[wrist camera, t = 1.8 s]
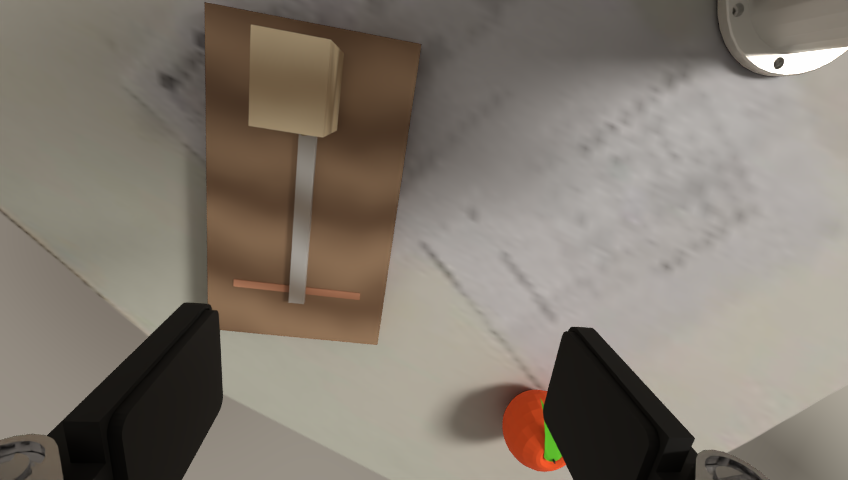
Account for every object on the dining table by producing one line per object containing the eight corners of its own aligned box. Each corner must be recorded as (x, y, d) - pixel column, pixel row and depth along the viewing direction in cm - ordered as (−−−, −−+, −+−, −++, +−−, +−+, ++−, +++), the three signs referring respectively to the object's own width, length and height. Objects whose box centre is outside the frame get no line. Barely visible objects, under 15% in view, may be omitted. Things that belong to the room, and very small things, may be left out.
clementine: (489, 373, 39) (509, 429, 32) (558, 359, 39) (592, 412, 32) (498, 434, 41) (519, 499, 35) (562, 422, 42) (595, 483, 35)
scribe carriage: (281, 41, 26) (250, 24, 20) (343, 53, 26) (330, 39, 20) (277, 129, 27) (248, 137, 22) (336, 139, 28) (322, 148, 22)
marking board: (217, 9, 27) (201, 0, 25) (419, 47, 29) (421, 43, 26) (218, 316, 34) (205, 331, 32) (377, 332, 36) (377, 348, 34)
